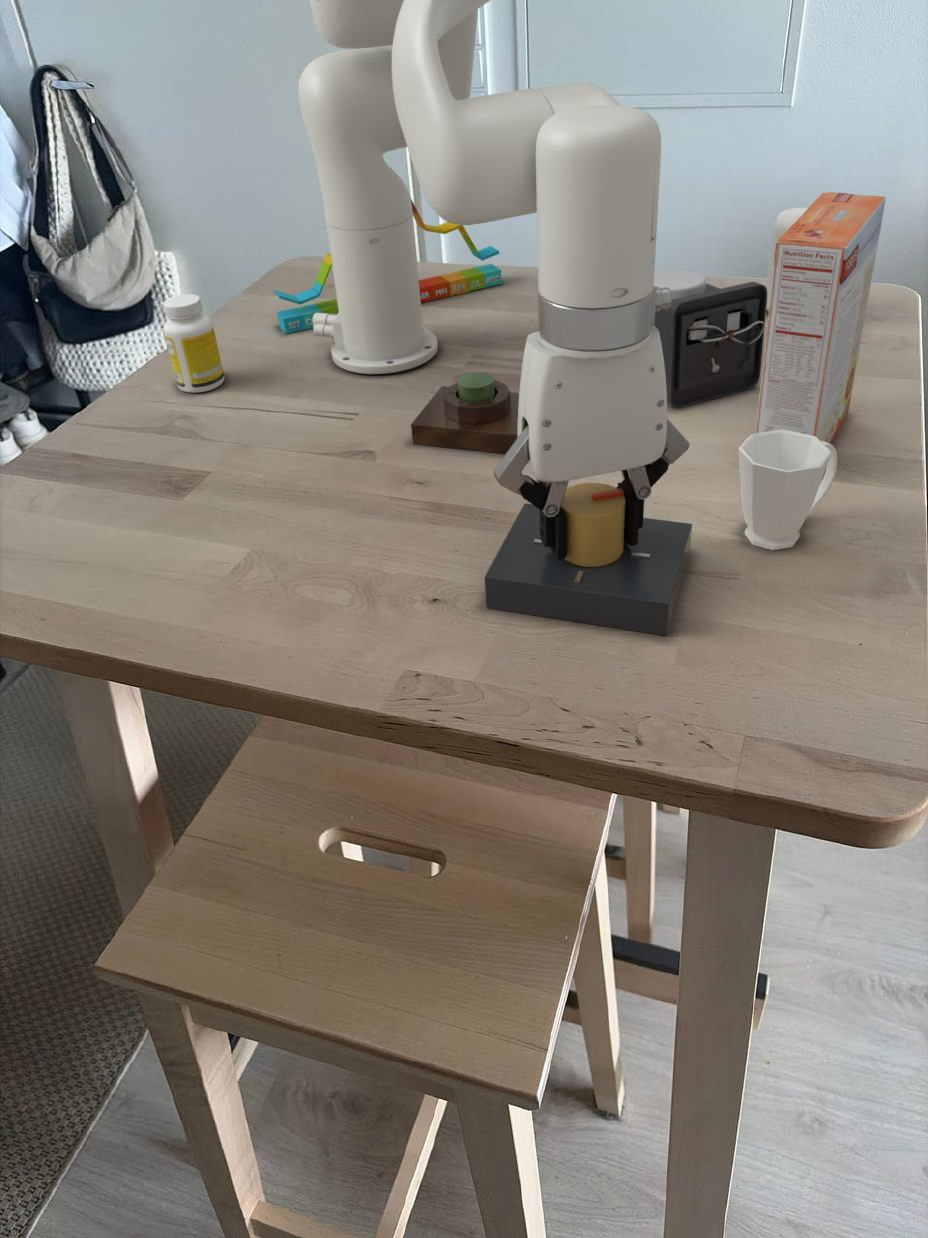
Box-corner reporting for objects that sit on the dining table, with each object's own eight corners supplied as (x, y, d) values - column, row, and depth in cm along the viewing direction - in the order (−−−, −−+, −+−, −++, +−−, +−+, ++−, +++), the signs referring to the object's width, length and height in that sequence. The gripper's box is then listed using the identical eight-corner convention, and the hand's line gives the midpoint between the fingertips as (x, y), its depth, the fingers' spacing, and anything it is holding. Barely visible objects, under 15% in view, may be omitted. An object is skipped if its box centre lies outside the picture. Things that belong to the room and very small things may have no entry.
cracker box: (788, 405, 101) (820, 188, 88) (849, 415, 98) (891, 194, 86) (744, 467, 92) (773, 236, 79) (811, 481, 89) (851, 243, 76)
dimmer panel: (486, 608, 77) (483, 575, 76) (525, 532, 86) (524, 501, 84) (666, 636, 73) (668, 602, 71) (689, 554, 81) (692, 521, 80)
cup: (710, 532, 84) (719, 446, 79) (793, 493, 88) (806, 409, 83) (774, 569, 79) (788, 481, 74) (858, 526, 83) (876, 439, 78)
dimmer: (570, 572, 75) (570, 518, 72) (550, 538, 79) (550, 485, 76) (633, 560, 76) (635, 506, 73) (610, 526, 80) (611, 474, 77)
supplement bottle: (233, 375, 116) (215, 292, 110) (210, 396, 112) (189, 310, 106) (193, 372, 117) (173, 289, 111) (168, 392, 113) (146, 307, 107)
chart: (286, 334, 125) (264, 210, 116) (279, 326, 127) (257, 203, 118) (502, 284, 134) (497, 165, 125) (491, 277, 136) (486, 160, 127)
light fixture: (693, 352, 114) (698, 255, 108) (764, 389, 104) (773, 284, 98) (609, 372, 111) (609, 274, 105) (674, 412, 101) (678, 306, 95)
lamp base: (412, 444, 100) (408, 407, 97) (443, 404, 106) (440, 369, 104) (518, 455, 96) (516, 417, 94) (542, 414, 103) (542, 377, 101)
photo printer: (848, 326, 116) (867, 215, 108) (821, 335, 114) (840, 224, 107) (782, 301, 123) (796, 196, 115) (756, 310, 121) (769, 204, 114)
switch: (453, 402, 98) (452, 385, 97) (465, 386, 101) (464, 370, 100) (488, 405, 97) (487, 388, 96) (499, 389, 100) (498, 373, 99)
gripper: (690, 279, 70) (673, 500, 82) (457, 315, 68) (472, 539, 79) (739, 315, 65) (713, 548, 76) (486, 357, 62) (498, 592, 73)
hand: (591, 541), depth 77 cm, fingers closed on dimmer, 5 cm apart
